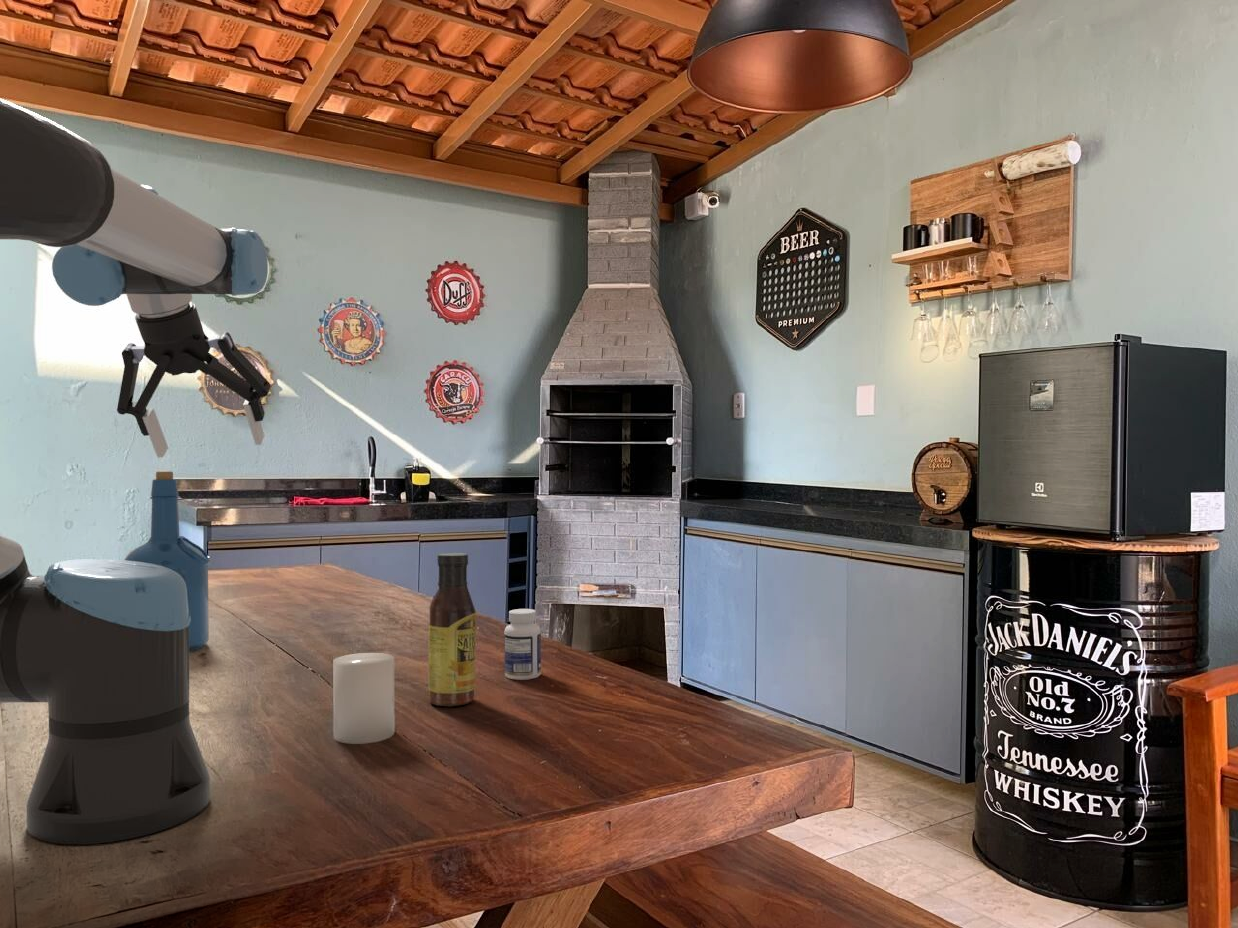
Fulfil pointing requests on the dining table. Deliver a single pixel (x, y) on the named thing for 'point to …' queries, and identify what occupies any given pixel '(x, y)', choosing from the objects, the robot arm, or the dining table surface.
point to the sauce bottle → (452, 635)
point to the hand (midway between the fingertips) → (211, 446)
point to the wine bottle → (177, 554)
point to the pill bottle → (522, 645)
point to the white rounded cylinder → (363, 698)
